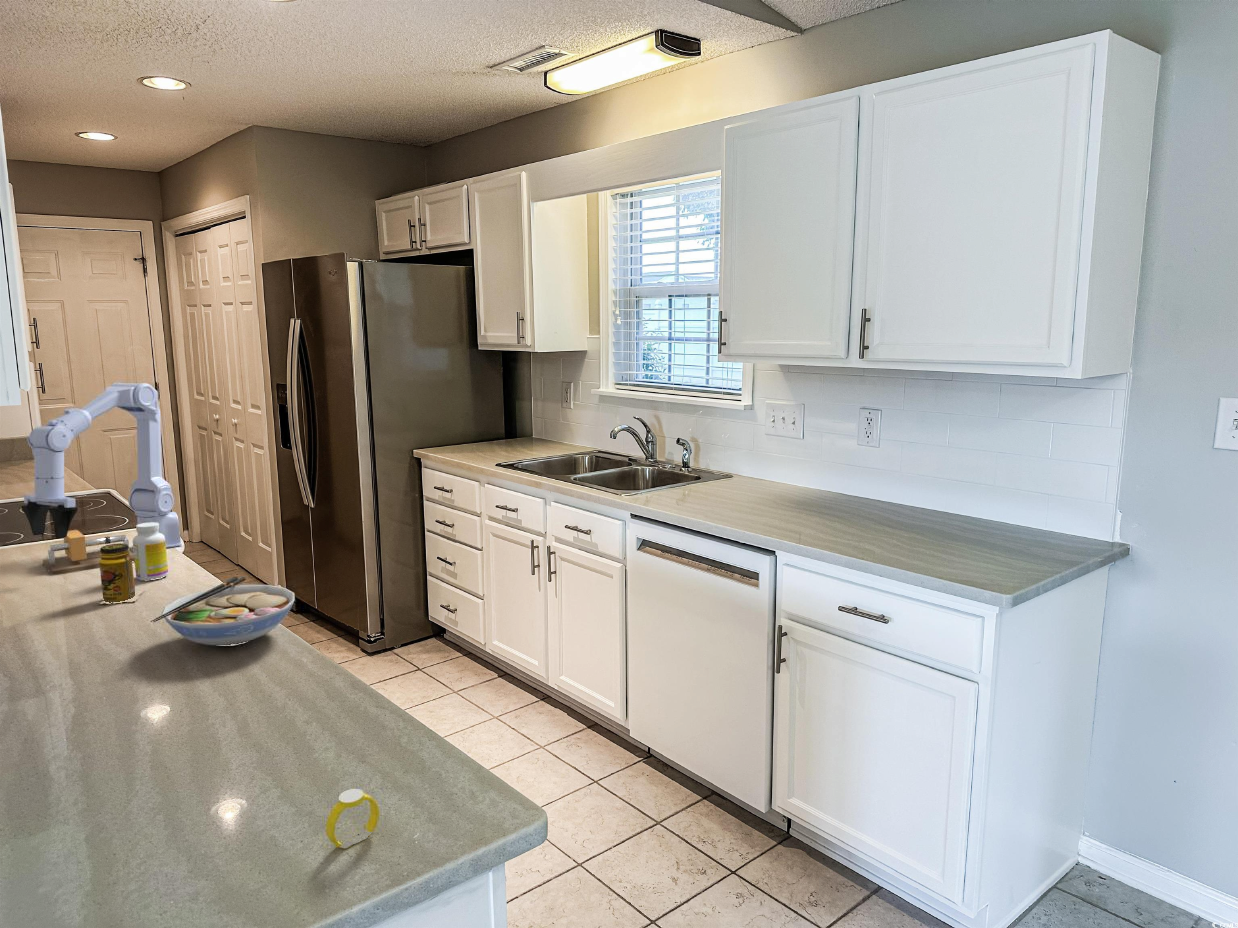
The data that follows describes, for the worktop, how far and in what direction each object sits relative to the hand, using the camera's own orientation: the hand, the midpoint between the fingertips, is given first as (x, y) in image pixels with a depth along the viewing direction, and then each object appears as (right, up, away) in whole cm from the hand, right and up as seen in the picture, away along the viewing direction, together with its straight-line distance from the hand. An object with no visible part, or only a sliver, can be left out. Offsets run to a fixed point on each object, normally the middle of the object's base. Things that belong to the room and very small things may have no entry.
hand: (49, 536), depth 194 cm
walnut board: (0, -8, +14) cm, 16 cm away
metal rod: (0, -8, +14) cm, 16 cm away
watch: (+102, -27, -97) cm, 143 cm away
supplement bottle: (+23, -10, +2) cm, 25 cm away
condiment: (+24, -13, -12) cm, 30 cm away
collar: (-2, -6, +12) cm, 14 cm away
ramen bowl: (+59, -17, -36) cm, 71 cm away
